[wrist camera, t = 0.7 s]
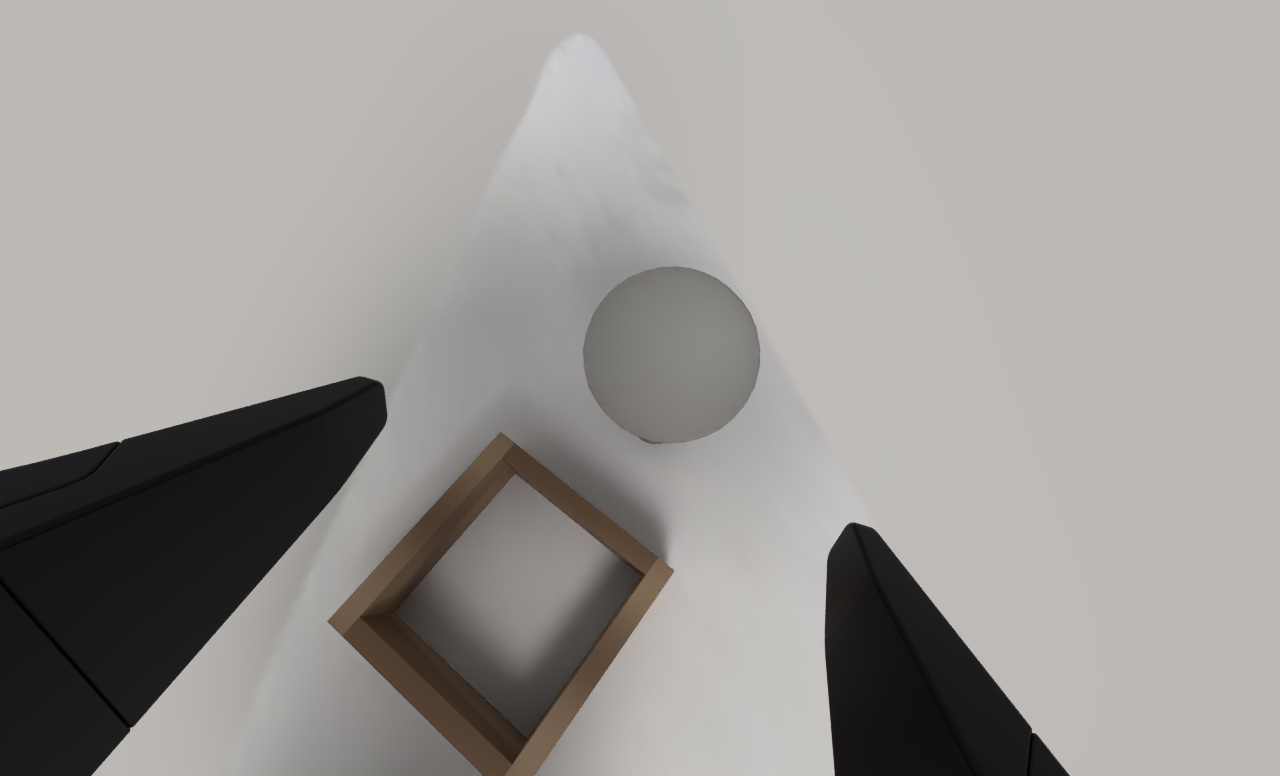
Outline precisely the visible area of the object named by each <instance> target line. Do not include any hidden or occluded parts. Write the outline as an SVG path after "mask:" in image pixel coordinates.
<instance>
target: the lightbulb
mask: <svg viewBox="0 0 1280 776" xmlns="http://www.w3.org/2000/svg"><path fill="white" fill-rule="evenodd" d="M583 355H584V369H585V374H586V378H587V381H588V385H589V388H590V390H591V392H592V394H593V396H594V398H595V400H596V402H597V403H598V404H599V406H600V407H601V408H602V409H603V411H604V412H605V413H606V414H607V415H608V416H609V417H610V418H611V419H612V420H613V421H614V422H615V423H617V424H618V425H619V426H620V427H621V428H623V429H624V430H626V431H628V432H630V433H632V434H634V435H635V436H638V437H639V438H640V439H641V440H643V441H645V442H648V443H651V444H661V443H681V442H687V441H691V440H695V439H699V438H702V437H705V436H707V435H709V434H711V433H713V432H715V431H717V430H719V429H721V428H722V427H723V426H725V425H726V424H727V423H728V422H730V421H731V420H732V419H733V418H734V417H735V416H736V415H737V414H738V412H739V411H740V410H741V409H742V407H743V406H744V405H745V403H746V402H747V401H748V399H749V397H750V395H751V393H752V391H753V389H754V387H755V383H756V379H757V375H758V371H759V365H760V346H759V340H758V335H757V330H756V326H755V324H754V321H753V319H752V316H751V314H750V312H749V311H748V309H747V308H746V306H745V305H744V303H743V302H742V300H741V299H740V298H739V297H738V296H737V295H736V294H735V293H734V292H733V291H732V290H731V289H730V288H729V287H728V286H726V285H725V284H723V283H722V282H721V281H719V280H718V279H716V278H714V277H712V276H710V275H708V274H706V273H704V272H701V271H697V270H694V269H690V268H683V267H661V268H656V269H651V270H647V271H644V272H641V273H639V274H636V275H634V276H632V277H629V278H628V279H626V280H625V281H623V282H622V283H620V284H618V285H617V286H616V287H615V288H614V289H613V290H612V291H611V292H610V293H609V294H608V295H607V296H606V297H605V298H604V300H603V301H602V302H601V304H600V305H599V307H598V308H597V310H596V311H595V312H594V314H593V317H592V319H591V322H590V324H589V326H588V329H587V333H586V337H585V343H584V348H583Z"/></svg>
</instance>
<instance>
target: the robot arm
mask: <svg viewBox="0 0 1280 776" xmlns="http://www.w3.org/2000/svg"><path fill="white" fill-rule="evenodd" d="M386 421H387V408H386V399H385V391H384V386H383V385H382V383H381V382H379V381H376V380H373V379H369V378H366V377H355V378H351V379H347V380H344V381H340V382H336V383H332V384H329V385H325V386H321V387H317V388H314V389H310V390H306V391H303V392H299V393H295V394H291V395H288V396H284V397H281V398H277V399H273V400H269V401H265V402H262V403H258V404H254V405H251V406H247V407H244V408H239V409H236V410H232V411H228V412H224V413H221V414H217V415H213V416H210V417H206V418H202V419H198V420H195V421H191V422H187V423H184V424H180V425H176V426H173V427H169V428H165V429H162V430H158V431H154V432H150V433H147V434H143V435H139V436H135V437H132V438H128V439H124V440H123V441H122V442H121V443H120V442H113V443H109V444H105V445H102V446H98V447H94V448H91V449H87V450H83V451H80V452H75V453H71V454H68V455H64V456H60V457H56V458H52V459H48V460H44V461H41V462H37V463H32V464H28V465H24V466H19V467H15V468H11V469H6V470H2V471H0V776H91V775H92V774H93V773H94V772H95V771H96V769H97V768H98V767H99V766H100V765H101V764H102V762H104V761H105V759H106V758H107V757H108V756H109V755H110V754H111V752H112V751H113V750H114V749H115V748H116V747H117V746H118V744H119V743H120V742H121V741H122V740H123V739H124V737H125V736H126V735H127V734H128V733H129V732H130V728H131V727H133V726H135V724H136V723H137V722H138V721H139V720H140V719H141V717H142V716H143V715H144V714H145V713H146V712H147V711H148V710H149V708H150V707H151V706H152V705H153V704H154V703H155V701H156V700H157V699H158V698H159V697H160V695H162V693H163V692H164V691H165V690H166V689H167V688H168V687H169V685H170V684H171V683H172V682H173V681H174V680H175V679H176V677H177V676H178V675H179V674H180V673H181V672H182V671H183V669H184V668H185V667H186V666H187V665H188V664H189V662H190V661H191V660H192V659H193V658H194V657H195V656H196V654H197V653H198V652H199V651H200V650H201V649H202V648H203V646H204V645H205V644H206V643H207V642H208V641H209V640H210V638H211V637H212V636H213V635H214V634H215V633H216V632H217V630H218V629H219V628H220V627H221V626H222V625H223V623H224V622H225V621H226V620H227V619H228V618H229V617H230V616H231V614H232V613H233V612H234V611H235V610H236V608H237V607H238V606H239V605H240V604H241V603H242V602H243V600H244V599H245V598H246V597H247V596H248V595H249V594H250V593H251V591H252V590H253V589H254V588H255V587H256V586H257V584H258V583H259V582H260V581H261V580H262V579H263V577H265V575H266V574H267V573H268V572H269V571H270V570H271V568H272V567H273V566H274V565H275V564H276V563H277V562H278V560H279V559H280V558H281V557H282V556H283V555H284V554H285V552H286V551H287V550H288V549H289V548H290V547H291V545H292V544H293V543H294V542H295V541H296V540H297V539H298V537H299V536H300V535H301V534H302V533H303V532H304V531H305V530H306V528H307V527H308V526H309V525H310V524H311V523H312V521H313V520H314V519H315V518H316V517H317V516H318V515H319V513H320V512H321V511H322V510H323V509H324V508H325V506H326V505H327V504H328V503H329V502H330V501H331V500H332V498H333V497H334V496H335V495H336V494H337V492H338V491H339V490H340V489H341V487H342V486H343V485H344V483H345V482H346V481H347V479H348V478H349V476H350V475H351V474H352V472H353V471H354V469H355V468H356V466H357V465H358V464H359V462H360V461H361V459H362V458H363V457H364V455H365V454H366V452H367V451H368V449H369V448H370V447H371V445H372V444H373V442H374V441H375V439H376V438H377V437H378V435H379V434H380V432H381V431H382V429H383V428H384V426H385V424H386ZM825 658H826V670H827V683H828V695H829V708H830V720H831V732H832V745H833V757H834V770H835V776H1070V775H1069V774H1068V773H1067V772H1066V770H1065V769H1064V768H1063V767H1062V766H1061V764H1060V763H1059V762H1058V761H1057V759H1056V758H1055V757H1054V755H1053V754H1052V753H1051V752H1050V750H1049V749H1048V748H1047V747H1046V745H1045V744H1044V743H1043V742H1042V740H1041V739H1040V738H1039V737H1038V735H1037V734H1035V733H1032V728H1031V727H1030V725H1029V724H1028V723H1027V722H1026V720H1025V719H1024V718H1023V716H1022V715H1021V714H1020V713H1019V711H1018V710H1017V709H1016V708H1015V706H1014V705H1013V704H1012V703H1011V701H1010V700H1009V699H1008V698H1007V696H1006V695H1005V694H1004V692H1003V691H1002V690H1001V689H1000V687H999V686H998V685H997V684H996V682H995V681H994V680H993V678H992V677H991V676H990V675H989V673H988V672H987V671H986V670H985V668H984V667H983V666H982V664H981V663H980V662H979V661H978V660H977V658H976V657H975V656H974V654H973V653H972V652H971V651H970V649H969V648H968V647H967V645H966V644H965V643H964V642H963V640H962V639H961V638H960V637H959V636H958V634H957V633H956V631H955V630H954V629H953V628H952V626H951V625H950V624H949V623H948V621H947V620H946V619H945V618H944V616H943V615H942V614H941V613H940V611H939V610H938V609H937V607H936V606H935V605H934V604H933V602H932V601H931V600H930V599H929V597H928V596H927V595H926V593H925V592H924V591H923V590H922V588H921V587H920V586H919V585H918V583H917V582H916V581H915V580H914V578H913V577H912V576H911V574H910V573H909V572H908V571H907V569H906V568H905V567H904V566H903V564H902V563H901V562H900V560H899V559H898V558H897V557H896V555H895V554H894V553H893V552H892V550H891V549H890V548H889V547H888V545H887V544H886V543H885V541H884V540H883V539H882V538H881V536H880V535H879V534H878V533H877V532H876V530H874V529H873V528H871V527H868V526H864V525H861V524H858V523H849V524H848V525H847V526H846V527H845V528H844V530H843V531H842V533H841V535H840V536H839V538H838V539H837V541H836V542H835V544H834V545H833V547H832V548H831V550H830V552H829V555H828V560H827V582H826V611H825Z"/></svg>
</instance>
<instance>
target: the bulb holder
mask: <svg viewBox="0 0 1280 776" xmlns="http://www.w3.org/2000/svg"><path fill="white" fill-rule="evenodd" d="M515 473H516V474H517V475H519V476H520V477H521V478H522V479H523V480H525V481H526V482H527V483H528V484H530V485H531V486H532V487H533V488H535V489H536V490H537V491H538V492H539V493H541V494H542V495H543V496H544V497H546V498H547V499H548V500H549V501H551V502H552V503H553V504H554V505H555V506H557V507H558V508H559V509H560V510H562V511H563V512H564V513H565V514H567V515H568V516H569V517H570V518H571V519H573V520H574V521H575V522H576V523H578V524H579V525H580V526H581V527H583V528H584V529H585V530H586V531H587V532H589V533H590V534H591V535H592V536H594V537H595V538H596V539H597V540H598V541H600V542H601V543H602V544H603V545H605V546H606V547H607V548H608V549H610V550H611V551H612V552H613V553H614V554H616V555H617V556H618V557H619V558H621V559H622V560H623V561H624V562H626V563H627V564H628V565H629V566H630V567H632V568H633V569H634V570H635V571H637V572H638V573H639V574H640V575H642V577H641V579H640V580H639V581H638V583H637V584H636V586H635V587H634V588H633V590H632V591H631V593H630V594H629V596H628V597H627V598H626V600H625V601H624V603H623V604H622V605H621V607H620V608H619V610H618V611H617V613H616V614H615V615H614V617H613V618H612V620H611V621H610V622H609V624H608V625H607V627H606V628H605V630H604V631H603V632H602V634H601V635H600V637H599V638H598V639H597V641H596V642H595V644H594V645H593V646H592V648H591V649H590V651H589V652H588V654H587V655H586V656H585V658H584V659H583V661H582V662H581V663H580V665H579V666H578V668H577V669H576V671H575V672H574V673H573V675H572V676H571V678H570V679H569V680H568V682H567V683H566V685H565V686H564V688H563V689H562V690H561V692H560V693H559V695H558V696H557V697H556V699H555V700H554V702H553V703H552V704H551V706H550V707H549V709H548V710H547V712H546V713H545V714H544V716H543V717H542V719H541V720H540V721H539V723H538V724H537V726H536V727H535V729H534V730H533V731H532V733H531V734H530V736H529V737H528V738H526V737H525V736H523V735H522V734H521V733H520V732H519V731H518V730H517V729H516V728H515V727H514V726H513V725H512V724H511V723H510V722H509V721H508V720H507V719H505V718H504V717H503V716H502V715H501V714H500V713H499V712H498V711H497V710H496V709H495V708H494V707H493V706H492V705H491V704H490V703H489V702H487V701H486V700H485V699H484V698H483V697H482V696H481V695H480V694H479V693H478V692H477V691H476V690H475V689H474V688H473V687H472V686H471V685H470V684H468V683H467V682H466V681H465V680H464V679H463V678H462V677H461V676H460V675H459V674H458V673H457V672H456V671H455V670H454V669H453V668H452V667H450V666H449V665H448V664H447V663H446V662H445V661H444V660H443V659H442V658H441V657H440V656H439V655H438V654H437V653H436V652H435V651H434V650H433V649H431V648H430V647H429V646H428V645H427V644H426V643H425V642H424V641H423V640H422V639H421V638H420V637H419V636H418V635H417V634H416V633H415V632H413V631H412V630H411V629H410V628H409V627H408V626H407V625H406V624H405V623H404V622H403V621H402V620H401V619H400V618H399V617H398V616H397V615H395V614H394V613H393V612H394V611H395V610H396V609H397V608H398V607H399V605H400V604H401V603H402V602H403V601H404V600H405V599H406V597H407V596H408V595H409V594H410V593H411V592H412V591H413V589H414V588H415V587H416V586H417V585H418V584H419V583H420V581H421V580H422V579H423V578H424V577H425V576H426V575H427V573H428V572H429V571H430V570H431V569H432V568H433V566H434V565H435V564H436V563H437V562H438V561H439V560H440V558H441V557H442V556H443V555H444V554H445V553H446V552H447V550H448V549H449V548H450V547H451V546H452V545H453V544H454V542H455V541H456V540H457V539H458V538H459V537H460V536H461V534H462V533H463V532H464V531H465V530H466V529H467V528H468V526H469V525H470V524H471V523H472V522H473V521H474V520H475V518H476V517H477V516H478V515H479V514H480V513H481V512H482V510H483V509H484V508H485V507H486V506H487V505H488V503H489V502H490V501H491V500H492V499H493V498H494V497H495V495H496V494H497V493H498V492H499V491H500V490H501V489H502V487H503V486H504V485H505V484H506V483H507V482H508V481H509V479H510V478H511V477H512V476H513V475H514V474H515ZM673 572H674V570H673V569H672V568H670V567H669V566H668V565H667V564H665V563H664V562H663V561H662V560H660V559H659V558H658V557H657V556H655V555H654V554H653V553H652V552H650V551H649V550H648V549H647V548H645V547H644V546H643V545H642V544H640V543H639V542H638V541H637V540H635V539H634V538H633V537H632V536H630V535H629V534H628V533H627V532H625V531H624V530H623V529H622V528H620V527H619V526H618V525H617V524H615V523H614V522H613V521H612V520H610V519H609V518H608V517H607V516H605V515H604V514H603V513H602V512H600V511H599V510H598V509H597V508H595V507H594V506H593V505H591V504H590V503H589V502H588V501H586V500H585V499H584V498H583V497H581V496H580V495H579V494H578V493H576V492H575V491H574V490H573V489H571V488H570V487H569V486H568V485H566V484H565V483H564V482H563V481H561V480H560V479H559V478H558V477H556V476H555V475H554V474H553V473H551V472H550V471H549V470H548V469H546V468H545V467H544V466H543V465H541V464H540V463H539V462H538V461H536V460H535V459H534V458H533V457H531V456H530V455H529V454H528V453H526V452H525V451H524V450H523V449H521V448H520V447H519V446H518V445H516V444H515V443H514V442H513V441H511V440H510V439H509V438H508V437H506V436H505V435H504V434H503V433H501V432H500V433H499V435H498V436H497V437H496V438H495V439H494V440H493V441H492V442H491V443H490V444H489V445H488V447H487V448H486V449H485V450H484V451H483V452H482V453H481V454H480V455H479V456H478V457H477V459H476V460H475V461H474V462H473V463H472V464H471V465H470V466H469V467H468V468H467V470H466V471H465V472H464V473H463V474H462V475H461V476H460V477H459V478H458V479H457V480H456V482H455V483H454V484H453V485H452V486H451V487H450V488H449V489H448V490H447V491H446V492H445V494H444V495H443V496H442V497H441V498H440V499H439V500H438V501H437V502H436V503H435V504H434V506H433V507H432V508H431V509H430V510H429V511H428V512H427V513H426V514H425V515H424V516H423V518H422V519H421V520H420V521H419V522H418V523H417V524H416V525H415V526H414V527H413V528H412V530H411V531H410V532H409V533H408V534H407V535H406V536H405V537H404V538H403V539H402V540H401V542H400V543H399V544H398V545H397V546H396V547H395V548H394V549H393V550H392V551H391V552H390V554H389V555H388V556H387V557H386V558H385V559H384V560H383V561H382V562H381V563H380V564H379V566H378V567H377V568H376V569H375V570H374V571H373V572H372V573H371V574H370V575H369V576H368V578H367V579H366V580H365V581H364V582H363V583H362V584H361V585H360V586H359V587H358V589H357V590H356V591H355V592H354V593H353V594H352V595H351V596H350V597H349V598H348V599H347V601H346V602H345V603H344V604H343V605H342V606H341V607H340V608H339V609H338V610H337V611H336V613H335V614H334V615H333V616H332V617H331V618H330V619H329V620H328V621H327V622H328V623H329V624H330V625H331V626H332V627H333V628H334V629H335V630H336V631H337V632H338V633H340V634H341V635H342V636H343V637H344V638H345V639H346V640H347V641H348V642H349V643H350V644H351V645H352V646H353V647H354V648H355V649H356V650H357V651H358V652H359V653H360V654H361V655H362V656H363V657H364V658H365V659H366V660H367V661H368V662H369V663H370V664H371V665H372V666H373V667H374V668H375V669H376V670H377V671H378V672H379V673H380V674H381V675H382V676H383V677H384V678H385V679H386V680H387V681H388V682H389V683H390V684H391V685H392V686H393V687H394V688H395V689H396V690H397V691H398V692H399V693H400V694H401V695H402V696H403V697H404V698H405V699H406V700H407V701H408V702H409V703H410V704H411V705H412V706H413V707H415V708H416V709H417V710H418V711H419V712H420V713H421V714H422V715H423V716H424V717H425V718H426V719H427V720H428V721H429V722H430V723H431V724H432V725H433V726H434V727H435V728H436V729H437V730H438V731H439V732H440V733H441V734H442V735H443V736H444V737H445V738H446V739H447V740H448V741H449V742H450V743H451V744H452V745H453V746H454V747H455V748H456V749H457V750H458V751H459V752H460V753H461V754H462V755H463V756H464V757H465V758H466V759H467V760H468V761H469V762H470V763H471V764H472V765H473V766H474V767H475V768H476V769H477V770H478V771H479V772H480V773H481V774H482V775H483V776H534V775H535V774H536V772H537V771H538V769H539V768H540V766H541V765H542V763H543V762H544V761H545V759H546V758H547V756H548V755H549V753H550V752H551V750H552V749H553V747H554V746H555V744H556V743H557V742H558V740H559V739H560V737H561V736H562V734H563V733H564V731H565V730H566V728H567V727H568V726H569V724H570V723H571V721H572V720H573V718H574V717H575V715H576V714H577V712H578V711H579V709H580V708H581V707H582V705H583V704H584V702H585V701H586V699H587V698H588V696H589V695H590V693H591V692H592V690H593V689H594V688H595V686H596V685H597V683H598V682H599V680H600V679H601V677H602V676H603V674H604V673H605V671H606V670H607V669H608V667H609V666H610V664H611V663H612V661H613V660H614V658H615V657H616V655H617V654H618V653H619V651H620V650H621V648H622V647H623V645H624V644H625V642H626V641H627V639H628V638H629V636H630V635H631V634H632V632H633V631H634V629H635V628H636V626H637V625H638V623H639V622H640V620H641V619H642V617H643V616H644V615H645V613H646V612H647V610H648V609H649V607H650V606H651V604H652V603H653V601H654V600H655V598H656V597H657V596H658V594H659V593H660V591H661V590H662V588H663V587H664V585H665V584H666V582H667V581H668V580H669V578H670V577H671V575H672V574H673Z"/></svg>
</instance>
